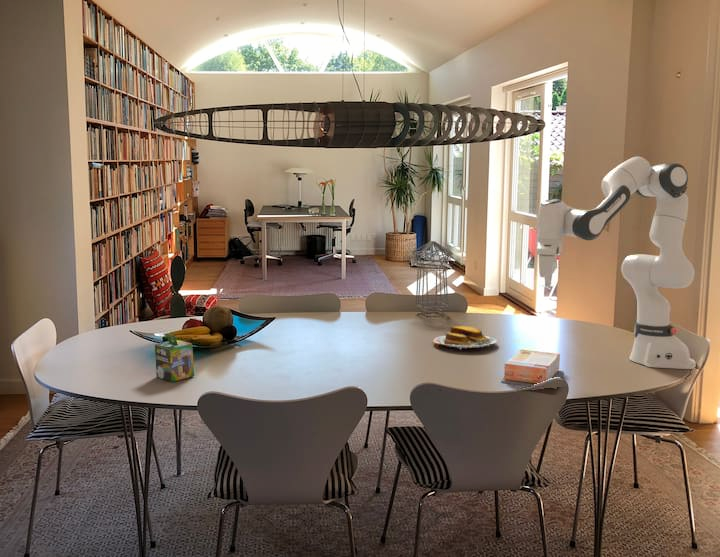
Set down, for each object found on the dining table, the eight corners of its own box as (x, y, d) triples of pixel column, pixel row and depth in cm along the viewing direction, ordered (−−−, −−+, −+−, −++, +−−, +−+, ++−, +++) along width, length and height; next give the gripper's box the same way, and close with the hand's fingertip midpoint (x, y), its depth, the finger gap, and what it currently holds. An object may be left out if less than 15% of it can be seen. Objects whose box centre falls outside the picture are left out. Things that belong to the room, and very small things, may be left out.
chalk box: (194, 377, 242) (193, 333, 240) (171, 383, 235) (169, 338, 233) (178, 371, 248) (177, 329, 246) (155, 377, 242) (153, 334, 239)
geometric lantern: (422, 318, 333) (422, 243, 328) (410, 312, 348) (410, 240, 343) (454, 316, 337) (454, 241, 332) (441, 310, 352) (442, 239, 347)
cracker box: (520, 365, 259) (503, 379, 241) (520, 348, 258) (503, 362, 240) (559, 370, 253) (545, 385, 234) (560, 353, 252) (546, 367, 233)
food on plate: (431, 352, 277) (432, 335, 276) (433, 337, 301) (433, 321, 300) (499, 355, 274) (500, 338, 273) (495, 339, 298) (495, 323, 297)
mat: (563, 372, 252) (563, 371, 251) (557, 389, 233) (557, 387, 233) (511, 366, 258) (511, 365, 258) (501, 382, 240) (501, 381, 239)
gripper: (543, 242, 261) (542, 280, 263) (536, 250, 242) (534, 290, 244) (562, 243, 258) (560, 281, 261) (555, 251, 240) (554, 292, 242)
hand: (547, 286), depth 252 cm, fingers closed
